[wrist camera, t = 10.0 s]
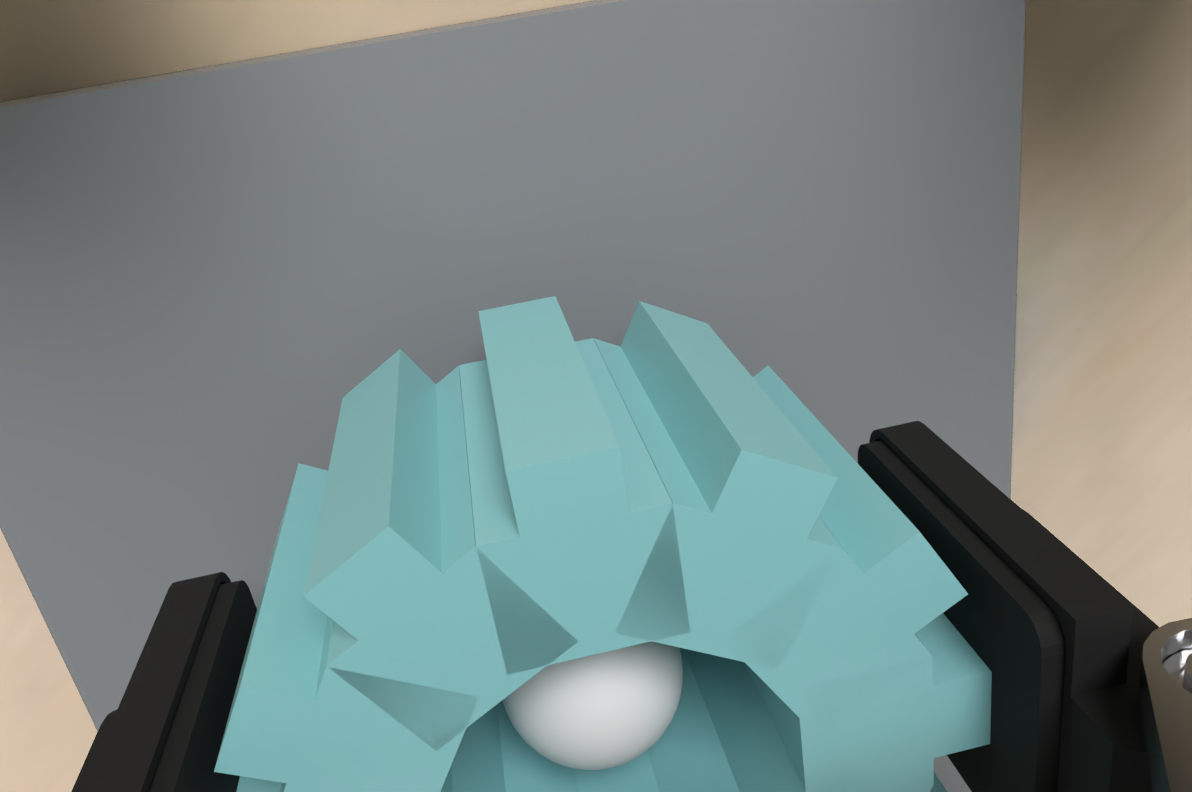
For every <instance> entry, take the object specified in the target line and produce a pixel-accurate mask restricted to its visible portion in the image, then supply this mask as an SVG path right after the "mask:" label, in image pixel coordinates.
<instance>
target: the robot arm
mask: <svg viewBox="0 0 1192 792" xmlns="http://www.w3.org/2000/svg"><path fill="white" fill-rule="evenodd" d="M858 464H859V466H860V467H861V468H862V469H863V470H864V471H865V472H866V473H867V474H868V475H869V477H870V478H871V479H872V480H873V481H874V482H875V483H876V484H877V485H878V486H879V488H880V489H881V490H882V491H883V492H884V493H885V494H886V495H887V496H888V497H889V498H890V500H891V501H892V502H893V503H894V504H895V505H896V506H897V507H898V508H899V509H900V511H901V512H902V513H903V514H904V515H905V516H906V517H907V518H908V519H909V520H910V522H911V523H912V524H913V525H914V526H915V527H916V528H917V529H918V530H919V531H920V533H921V534H922V535H923V537H924V538H925V539H926V540H927V542H928V543H929V544H930V546H931V547H932V548H933V549H934V551H935V552H936V553H937V555H938V556H939V557H940V558H941V560H942V561H943V562H944V563H945V565H946V566H947V567H948V569H949V570H950V571H951V572H952V574H953V575H954V576H955V578H956V579H957V580H958V581H959V583H960V584H961V585H962V587H963V588H964V589H965V590H966V592H967V593H968V595H967V596H965V597H964V598H962V599H961V600H960V601H958V602H957V603H956V604H954V605H953V606H952V607H950V608H949V609H947V610H946V611H945V612H943V614H944V615H945V616H946V617H947V618H948V620H949V621H950V622H951V623H952V624H953V626H954V627H955V628H956V629H957V630H958V632H959V633H960V634H961V635H962V636H963V638H964V639H965V640H966V641H967V643H968V644H969V645H970V646H971V647H972V649H973V650H974V651H975V652H976V653H977V655H978V656H979V657H980V658H981V659H982V661H983V662H984V663H985V664H986V665H987V667H988V668H989V669H990V670H991V671H992V687H991V730H990V744H988V745H984V746H980V747H976V748H972V749H968V750H964V751H960V752H956V753H952V754H948V755H947V756H948V758H949V759H950V761H951V762H952V764H953V765H954V766H955V768H956V769H957V771H958V772H959V774H960V775H961V777H962V778H963V780H964V781H965V783H966V784H967V786H968V787H969V789H970V790H971V791H972V792H1192V618H1189V619H1184V620H1179V621H1174V622H1170V623H1167V624H1165V625H1163V626H1162V627H1158V626H1157V625H1156V624H1155V623H1154V622H1153V621H1151V620H1150V619H1149V618H1148V617H1147V616H1146V615H1145V614H1143V613H1142V612H1141V611H1140V610H1139V609H1138V608H1137V607H1135V606H1134V605H1133V604H1132V603H1131V602H1130V601H1128V600H1127V599H1126V598H1125V597H1124V596H1123V595H1122V594H1120V593H1119V592H1118V591H1117V590H1116V589H1115V588H1114V587H1112V586H1111V585H1110V584H1109V583H1108V582H1107V581H1105V580H1104V579H1103V578H1102V577H1101V576H1100V575H1099V574H1097V573H1096V572H1095V571H1094V570H1093V569H1092V568H1091V567H1089V566H1088V565H1087V564H1086V563H1085V562H1084V561H1083V560H1081V559H1080V558H1079V557H1078V556H1077V555H1076V554H1074V553H1073V552H1072V551H1071V550H1070V549H1069V548H1068V547H1066V546H1065V545H1064V544H1063V543H1062V542H1061V541H1060V540H1058V539H1057V538H1056V537H1055V536H1054V535H1053V534H1051V533H1050V532H1049V531H1048V530H1047V529H1046V528H1045V527H1043V526H1042V525H1041V524H1040V523H1039V522H1038V521H1037V520H1035V519H1034V518H1033V517H1032V516H1031V515H1030V514H1029V513H1027V512H1026V511H1024V510H1022V509H1021V508H1020V507H1019V506H1017V505H1016V504H1015V503H1014V502H1013V501H1012V500H1011V499H1009V498H1008V497H1007V496H1006V495H1005V494H1004V493H1002V492H1001V491H1000V490H999V489H998V488H997V487H996V486H994V485H993V484H992V483H991V482H990V481H989V480H988V479H986V478H985V477H984V476H983V475H982V474H981V473H980V472H978V471H977V470H976V469H975V468H974V467H973V466H972V465H970V464H969V463H968V462H967V461H966V460H965V459H964V458H962V457H961V456H960V455H959V454H958V453H957V452H956V451H954V450H953V449H952V448H951V447H950V446H949V445H948V444H946V443H945V442H944V441H943V440H942V439H941V438H940V437H938V436H937V435H936V434H935V433H934V432H933V431H931V430H930V429H929V428H928V427H927V426H926V425H925V424H923V423H922V422H920V421H913V422H909V423H904V424H900V425H895V426H890V427H886V428H881V429H877V430H874V431H873V432H872V433H871V436H870V440H869V443H866V444H862V445H860V447H859V449H858ZM256 612H257V608H256V605H255V603H254V600H253V597H252V594H251V592H250V589H249V587H248V585H247V584H246V582H245V581H243V580H240V581H235V582H231V580H230V578H229V577H228V576H227V574H225V573H224V572H219V573H214V574H210V575H205V576H201V577H196V578H191V579H187V580H182V581H178V582H174V583H172V584H171V586H170V587H169V589H168V591H167V594H166V596H165V598H164V601H163V603H162V605H161V608H160V610H159V613H158V615H157V617H156V620H155V622H154V624H153V627H152V629H151V631H150V634H149V636H148V639H147V641H146V643H145V646H144V648H143V650H142V653H141V655H140V657H139V660H138V662H137V664H136V667H135V669H134V672H133V674H132V676H131V679H130V681H129V683H128V686H127V688H126V690H125V693H124V695H123V698H122V700H121V702H120V705H119V707H118V709H117V710H114V711H112V712H111V713H109V714H108V715H107V716H106V718H105V719H104V721H103V722H102V724H101V726H100V728H99V730H98V732H97V735H96V737H95V739H94V742H93V744H92V746H91V748H90V751H89V753H88V755H87V758H86V760H85V762H84V765H83V767H82V769H81V771H80V774H79V776H78V778H77V781H76V783H75V785H74V787H73V790H72V792H236V791H237V787H238V783H239V778H240V776H237V775H231V774H225V773H218V772H214V769H215V765H216V762H217V758H218V754H219V751H220V747H221V743H222V739H223V736H224V732H225V728H226V724H227V721H228V717H229V713H230V709H231V706H232V702H233V698H234V694H235V691H236V687H237V683H238V679H239V676H240V672H241V668H242V664H243V661H244V657H245V653H246V649H247V646H248V642H249V638H250V634H251V631H252V627H253V623H254V620H255V616H256Z"/></svg>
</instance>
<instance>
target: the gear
mask: <svg viewBox="0 0 1192 792" xmlns="http://www.w3.org/2000/svg"><path fill="white" fill-rule="evenodd" d="M478 312H479V318H480V324H481V329H482V335H483V341H484V347H485V353H486V359H487V360H482V361H477V362H472V363H467V364H463V365H459V366H457V367H456V368H455V369H454V370H453V371H451V372H450V373H449V374H448V375H447V376H445V377H444V378H443V379H442V380H441V381H439V382H438V383H437V384H435V383H434V382H433V381H432V380H431V379H430V378H429V377H428V376H427V375H426V374H425V373H424V372H423V371H422V370H421V369H420V368H419V367H418V366H417V365H416V364H415V363H414V362H413V361H412V360H411V359H410V358H409V357H408V356H407V355H406V354H405V353H404V352H403V351H402V350H401V349H399V350H398V351H397V352H396V353H395V354H393V355H392V356H391V357H390V358H389V359H387V360H386V361H385V362H384V363H383V364H382V365H380V366H379V367H378V368H377V369H376V370H375V371H373V372H372V373H371V374H370V375H369V376H368V377H366V378H365V379H364V380H363V381H362V382H360V383H359V384H358V385H357V386H356V387H355V388H353V389H352V390H351V391H350V392H349V393H348V394H346V395H345V396H344V397H343V398H342V403H341V408H340V414H339V419H338V424H337V429H336V434H335V439H334V444H333V449H332V454H331V459H330V464H329V469H328V471H327V470H323V469H320V468H316V467H312V466H308V465H304V464H300V463H299V464H298V467H297V470H296V473H295V477H294V480H293V483H292V487H291V490H290V493H289V497H288V500H287V503H286V506H285V510H284V513H283V516H282V520H281V523H280V526H279V530H278V533H277V537H276V541H275V545H274V548H273V552H272V556H271V560H270V563H269V567H268V571H267V575H266V578H265V582H264V586H263V590H262V593H261V597H260V601H259V605H258V608H257V612H256V616H255V620H254V623H253V627H252V631H251V634H250V638H249V642H248V646H247V649H246V653H245V657H244V661H243V664H242V668H241V672H240V676H239V679H238V683H237V687H236V691H235V694H234V698H233V702H232V706H231V709H230V713H229V717H228V721H227V724H226V728H225V732H224V736H223V739H222V743H221V747H220V751H219V754H218V758H217V762H216V765H215V769H214V772H218V773H225V774H231V775H237V776H240V778H239V783H238V787H237V791H236V792H947V791H946V789H945V787H944V786H943V784H942V783H941V781H940V780H939V778H938V777H937V775H936V774H935V772H934V758H936V757H940V756H944V755H948V754H952V753H956V752H960V751H964V750H968V749H972V748H976V747H980V746H984V745H988V744H990V730H991V687H992V671H991V670H990V669H989V668H988V667H987V665H986V664H985V663H984V662H983V661H982V659H981V658H980V657H979V656H978V655H977V653H976V652H975V651H974V650H973V649H972V647H971V646H970V645H969V644H968V643H967V641H966V640H965V639H964V638H963V636H962V635H961V634H960V633H959V632H958V630H957V629H956V628H955V627H954V626H953V624H952V623H951V622H950V621H949V620H948V618H947V617H946V616H945V615H944V614H943V612H945V611H946V610H947V609H949V608H950V607H952V606H953V605H954V604H956V603H957V602H958V601H960V600H961V599H962V598H964V597H965V596H967V595H968V593H967V592H966V590H965V589H964V588H963V587H962V585H961V584H960V583H959V581H958V580H957V579H956V578H955V576H954V575H953V574H952V572H951V571H950V570H949V569H948V567H947V566H946V565H945V563H944V562H943V561H942V560H941V558H940V557H939V556H938V555H937V553H936V552H935V551H934V549H933V548H932V547H931V546H930V544H929V543H928V542H927V540H926V539H925V538H924V537H923V535H922V534H921V533H920V531H919V530H918V529H917V528H916V527H915V526H914V525H913V524H912V523H911V522H910V520H909V519H908V518H907V517H906V516H905V515H904V514H903V513H902V512H901V511H900V509H899V508H898V507H897V506H896V505H895V504H894V503H893V502H892V501H891V500H890V498H889V497H888V496H887V495H886V494H885V493H884V492H883V491H882V490H881V489H880V488H879V486H878V485H877V484H876V483H875V482H874V481H873V480H872V479H871V478H870V477H869V475H868V474H867V473H866V472H865V471H864V470H863V469H862V468H861V467H860V466H859V464H858V463H857V462H856V461H855V460H854V459H853V458H852V457H851V456H850V455H849V453H848V452H847V451H846V450H845V449H844V448H843V447H842V446H841V445H840V444H839V442H838V441H837V440H836V439H835V438H834V437H833V436H832V435H831V434H830V433H829V432H828V430H827V429H826V428H825V427H824V426H823V425H822V424H821V423H820V422H819V421H818V419H817V418H816V417H815V416H814V415H813V414H812V413H811V412H810V411H809V410H808V408H807V407H806V406H805V405H804V404H803V403H802V402H801V401H800V400H799V399H798V397H797V396H796V395H795V394H794V393H793V392H792V391H791V390H790V389H789V388H788V386H787V385H786V384H785V383H784V382H783V381H782V380H781V379H780V378H779V377H778V376H777V374H776V373H775V372H774V371H773V370H772V369H771V368H770V367H769V366H766V367H765V368H764V369H763V370H761V371H760V372H759V373H758V374H756V375H755V376H754V377H752V376H751V375H750V373H749V372H748V371H747V370H746V369H745V367H744V366H743V365H742V364H741V363H740V362H739V360H738V359H737V358H736V357H735V356H734V354H733V353H732V352H731V351H730V350H729V349H728V347H727V346H726V345H725V344H724V343H723V341H722V340H721V339H720V338H719V337H718V335H717V334H716V333H715V332H714V331H713V330H712V328H711V327H710V326H709V325H708V324H707V323H705V322H702V321H699V320H696V319H693V318H690V317H687V316H684V315H681V314H678V313H675V312H672V311H669V310H666V309H663V308H660V307H657V306H654V305H651V304H648V303H645V302H642V301H639V302H638V305H637V307H636V310H635V312H634V315H633V317H632V320H631V322H630V325H629V327H628V329H627V332H626V334H625V337H624V339H623V342H622V344H621V347H620V346H617V345H614V344H611V343H607V342H604V341H601V340H598V339H595V338H591V339H586V340H581V341H576V342H575V341H574V338H573V336H572V334H571V331H570V329H569V327H568V324H567V322H566V320H565V317H564V315H563V313H562V310H561V308H560V306H559V303H558V301H557V299H556V296H553V297H548V298H542V299H537V300H532V301H527V302H522V303H517V304H512V305H507V306H502V307H497V308H492V309H487V310H482V311H478ZM650 641H652V642H657V643H661V644H666V645H670V646H675V647H679V648H680V652H681V657H682V665H683V683H682V692H681V697H680V701H679V704H678V707H677V710H676V712H675V715H674V717H673V719H672V721H671V722H670V724H669V726H668V727H667V729H666V731H665V732H664V733H663V735H662V736H661V737H660V738H659V740H658V741H657V742H656V743H655V744H654V745H653V746H651V747H650V748H649V749H648V750H647V751H645V752H644V753H643V754H641V755H640V756H638V757H637V758H635V759H633V760H631V761H629V762H627V763H625V764H622V765H620V766H616V767H613V768H608V769H603V770H581V769H574V768H570V767H565V766H562V765H560V764H557V763H555V762H553V761H551V760H549V759H547V758H545V757H543V756H542V755H541V754H539V753H538V752H536V751H535V750H534V749H533V748H532V747H531V746H530V745H528V744H527V743H526V742H525V741H524V740H523V738H522V737H521V736H520V735H519V733H518V732H517V730H516V729H515V728H514V726H513V724H512V723H511V721H510V719H509V717H508V714H507V712H506V710H505V707H504V704H503V701H502V700H503V699H505V698H506V697H507V696H508V695H510V694H511V693H512V692H514V691H515V690H516V689H517V688H519V687H520V686H521V685H523V684H524V683H525V682H527V681H528V680H529V679H530V678H532V677H533V676H534V675H536V674H537V673H538V672H539V671H541V670H542V669H543V668H545V667H546V666H547V665H552V664H556V663H560V662H565V661H569V660H573V659H577V658H582V657H586V656H590V655H595V654H599V653H603V652H607V651H612V650H616V649H620V648H625V647H629V646H633V645H638V644H642V643H646V642H650Z"/></svg>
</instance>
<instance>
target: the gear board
mask: <svg viewBox="0 0 1192 792" xmlns="http://www.w3.org/2000/svg"><path fill="white" fill-rule="evenodd" d="M1025 2H1026V0H594V1H588V2H582V3H576V4H571V5H565V6H559V7H553V8H547V9H541V10H536V11H530V12H524V13H518V14H512V15H506V16H501V17H495V18H489V19H483V20H477V21H471V22H465V23H460V24H454V25H448V26H442V27H436V28H430V29H425V30H419V31H413V32H407V33H401V34H395V35H390V36H384V37H378V38H372V39H366V40H360V41H354V42H349V43H343V44H337V45H331V46H325V47H319V48H314V49H308V50H302V51H296V52H290V53H284V54H279V55H273V56H267V57H261V58H255V59H249V60H243V61H238V62H232V63H226V64H220V65H214V66H208V67H203V68H197V69H191V70H185V71H179V72H173V73H168V74H162V75H156V76H150V77H144V78H138V79H132V80H127V81H121V82H115V83H109V84H103V85H97V86H92V87H86V88H80V89H74V90H68V91H62V92H57V93H51V94H45V95H39V96H33V97H27V98H21V99H16V100H10V101H4V102H0V528H1V530H2V532H3V535H4V537H5V539H6V541H7V543H8V545H9V547H10V549H11V551H12V553H13V555H14V558H15V560H16V562H17V564H18V566H19V568H20V570H21V572H22V574H23V576H24V578H25V580H26V583H27V585H28V587H29V589H30V591H31V593H32V595H33V597H34V599H35V601H36V603H37V605H38V608H39V610H40V612H41V614H42V616H43V618H44V620H45V622H46V624H47V626H48V628H49V631H50V633H51V635H52V637H53V639H54V641H55V643H56V645H57V647H58V649H59V651H60V653H61V656H62V658H63V660H64V662H65V664H66V666H67V668H68V670H69V672H70V674H71V676H72V679H73V681H74V683H75V685H76V687H77V689H78V691H79V693H80V695H81V697H82V699H83V701H84V704H85V706H86V708H87V710H88V712H89V714H90V716H91V718H92V720H93V722H94V724H95V727H96V729H97V731H98V730H99V728H100V726H101V724H102V722H103V721H104V719H105V718H106V716H107V715H108V714H109V713H111V712H112V711H114V710H117V709H118V707H119V705H120V702H121V700H122V698H123V695H124V693H125V690H126V688H127V686H128V683H129V681H130V679H131V676H132V674H133V672H134V669H135V667H136V664H137V662H138V660H139V657H140V655H141V653H142V650H143V648H144V646H145V643H146V641H147V639H148V636H149V634H150V631H151V629H152V627H153V624H154V622H155V620H156V617H157V615H158V613H159V610H160V608H161V605H162V603H163V601H164V598H165V596H166V594H167V591H168V589H169V587H170V586H171V584H172V583H174V582H178V581H182V580H187V579H191V578H196V577H201V576H205V575H210V574H214V573H219V572H224V573H225V574H227V576H228V577H229V578H230V580H231V582H235V581H240V580H243V581H245V582H246V584H247V585H248V587H249V589H250V592H251V594H252V597H253V600H254V603H255V605H256V608H258V605H259V601H260V597H261V593H262V590H263V586H264V582H265V578H266V575H267V571H268V567H269V563H270V560H271V556H272V552H273V548H274V545H275V541H276V537H277V533H278V530H279V526H280V523H281V520H282V516H283V513H284V510H285V506H286V503H287V500H288V497H289V493H290V490H291V487H292V483H293V480H294V477H295V473H296V470H297V467H298V464H299V463H300V464H304V465H308V466H312V467H316V468H320V469H323V470H327V471H328V469H329V464H330V459H331V454H332V449H333V444H334V439H335V434H336V429H337V424H338V419H339V414H340V408H341V403H342V398H343V397H344V396H345V395H346V394H348V393H349V392H350V391H351V390H352V389H353V388H355V387H356V386H357V385H358V384H359V383H360V382H362V381H363V380H364V379H365V378H366V377H368V376H369V375H370V374H371V373H372V372H373V371H375V370H376V369H377V368H378V367H379V366H380V365H382V364H383V363H384V362H385V361H386V360H387V359H389V358H390V357H391V356H392V355H393V354H395V353H396V352H397V351H398V350H399V349H401V350H402V351H403V352H404V353H405V354H406V355H407V356H408V357H409V358H410V359H411V360H412V361H413V362H414V363H415V364H416V365H417V366H418V367H419V368H420V369H421V370H422V371H423V372H424V373H425V374H426V375H427V376H428V377H429V378H430V379H431V380H432V381H433V382H434V383H435V384H437V383H438V382H439V381H441V380H442V379H443V378H444V377H445V376H447V375H448V374H449V373H450V372H451V371H453V370H454V369H455V368H456V367H457V366H459V365H463V364H467V363H472V362H477V361H482V360H487V359H486V353H485V347H484V341H483V335H482V329H481V324H480V318H479V312H478V311H482V310H487V309H492V308H497V307H502V306H507V305H512V304H517V303H522V302H527V301H532V300H537V299H542V298H548V297H553V296H556V299H557V301H558V303H559V306H560V308H561V310H562V313H563V315H564V317H565V320H566V322H567V324H568V327H569V329H570V331H571V334H572V336H573V338H574V341H575V342H576V341H581V340H586V339H591V338H595V339H598V340H601V341H604V342H607V343H611V344H614V345H617V346H620V347H621V344H622V342H623V339H624V337H625V334H626V332H627V329H628V327H629V325H630V322H631V320H632V317H633V315H634V312H635V310H636V307H637V305H638V302H639V301H642V302H645V303H648V304H651V305H654V306H657V307H660V308H663V309H666V310H669V311H672V312H675V313H678V314H681V315H684V316H687V317H690V318H693V319H696V320H699V321H702V322H705V323H707V324H708V325H709V326H710V327H711V328H712V330H713V331H714V332H715V333H716V334H717V335H718V337H719V338H720V339H721V340H722V341H723V343H724V344H725V345H726V346H727V347H728V349H729V350H730V351H731V352H732V353H733V354H734V356H735V357H736V358H737V359H738V360H739V362H740V363H741V364H742V365H743V366H744V367H745V369H746V370H747V371H748V372H749V373H750V375H751V376H752V377H754V376H755V375H756V374H758V373H759V372H760V371H761V370H763V369H764V368H765V367H766V366H769V367H770V368H771V369H772V370H773V371H774V372H775V373H776V374H777V376H778V377H779V378H780V379H781V380H782V381H783V382H784V383H785V384H786V385H787V386H788V388H789V389H790V390H791V391H792V392H793V393H794V394H795V395H796V396H797V397H798V399H799V400H800V401H801V402H802V403H803V404H804V405H805V406H806V407H807V408H808V410H809V411H810V412H811V413H812V414H813V415H814V416H815V417H816V418H817V419H818V421H819V422H820V423H821V424H822V425H823V426H824V427H825V428H826V429H827V430H828V432H829V433H830V434H831V435H832V436H833V437H834V438H835V439H836V440H837V441H838V442H839V444H840V445H841V446H842V447H843V448H844V449H845V450H846V451H847V452H848V453H849V455H850V456H851V457H852V458H853V459H854V460H855V461H856V462H857V463H858V449H859V447H860V445H862V444H866V443H869V440H870V436H871V433H872V432H873V431H874V430H877V429H881V428H886V427H890V426H895V425H900V424H904V423H909V422H913V421H920V422H922V423H923V424H925V425H926V426H927V427H928V428H929V429H930V430H931V431H933V432H934V433H935V434H936V435H937V436H938V437H940V438H941V439H942V440H943V441H944V442H945V443H946V444H948V445H949V446H950V447H951V448H952V449H953V450H954V451H956V452H957V453H958V454H959V455H960V456H961V457H962V458H964V459H965V460H966V461H967V462H968V463H969V464H970V465H972V466H973V467H974V468H975V469H976V470H977V471H978V472H980V473H981V474H982V475H983V476H984V477H985V478H986V479H988V480H989V481H990V482H991V483H992V484H993V485H994V486H996V487H997V488H998V489H999V490H1000V491H1001V492H1002V493H1004V494H1005V495H1006V496H1007V497H1008V498H1009V499H1010V494H1011V461H1012V428H1013V395H1014V363H1015V330H1016V297H1017V264H1018V232H1019V199H1020V166H1021V133H1022V101H1023V68H1024V35H1025ZM682 683H683V665H682V657H681V652H680V648H679V647H675V646H670V645H666V644H661V643H657V642H652V641H650V642H646V643H642V644H638V645H633V646H629V647H625V648H620V649H616V650H612V651H607V652H603V653H599V654H595V655H590V656H586V657H582V658H577V659H573V660H569V661H565V662H560V663H556V664H552V665H547V666H546V667H545V668H543V669H542V670H541V671H539V672H538V673H537V674H536V675H534V676H533V677H532V678H530V679H529V680H528V681H527V682H525V683H524V684H523V685H521V686H520V687H519V688H517V689H516V690H515V691H514V692H512V693H511V694H510V695H508V696H507V697H506V698H505V699H503V700H502V701H503V704H504V707H505V710H506V712H507V714H508V717H509V719H510V721H511V723H512V724H513V726H514V728H515V729H516V730H517V732H518V733H519V735H520V736H521V737H522V738H523V740H524V741H525V742H526V743H527V744H528V745H530V746H531V747H532V748H533V749H534V750H535V751H536V752H538V753H539V754H541V755H542V756H543V757H545V758H547V759H549V760H551V761H553V762H555V763H557V764H560V765H562V766H565V767H570V768H574V769H581V770H603V769H608V768H613V767H616V766H620V765H622V764H625V763H627V762H629V761H631V760H633V759H635V758H637V757H638V756H640V755H641V754H643V753H644V752H645V751H647V750H648V749H649V748H650V747H651V746H653V745H654V744H655V743H656V742H657V741H658V740H659V738H660V737H661V736H662V735H663V733H664V732H665V731H666V729H667V727H668V726H669V724H670V722H671V721H672V719H673V717H674V715H675V712H676V710H677V707H678V704H679V701H680V697H681V692H682ZM934 772H935V774H936V775H937V777H938V778H939V780H940V781H941V783H942V784H943V786H944V787H945V789H946V791H947V792H972V791H971V790H970V789H969V787H968V786H967V784H966V783H965V781H964V780H963V778H962V777H961V775H960V774H959V772H958V771H957V769H956V768H955V766H954V765H953V764H952V762H951V761H950V759H949V758H948V756H947V755H944V756H940V757H936V758H934Z"/></svg>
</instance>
